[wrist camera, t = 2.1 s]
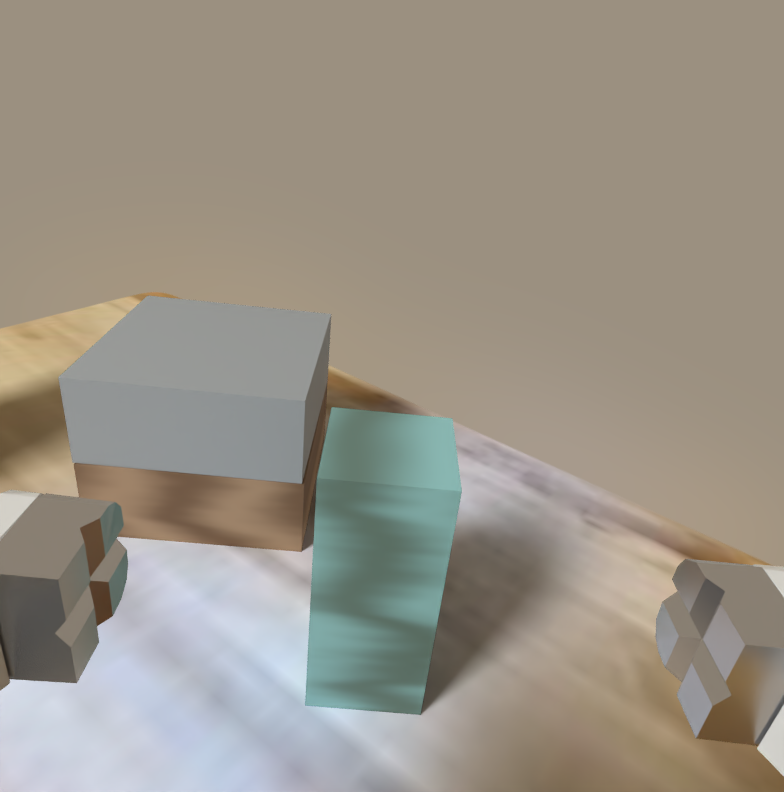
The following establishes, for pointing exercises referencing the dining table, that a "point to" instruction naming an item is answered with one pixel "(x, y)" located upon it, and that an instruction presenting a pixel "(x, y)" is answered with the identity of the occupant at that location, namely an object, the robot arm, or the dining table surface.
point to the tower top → (201, 390)
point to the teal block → (379, 558)
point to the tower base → (208, 503)
